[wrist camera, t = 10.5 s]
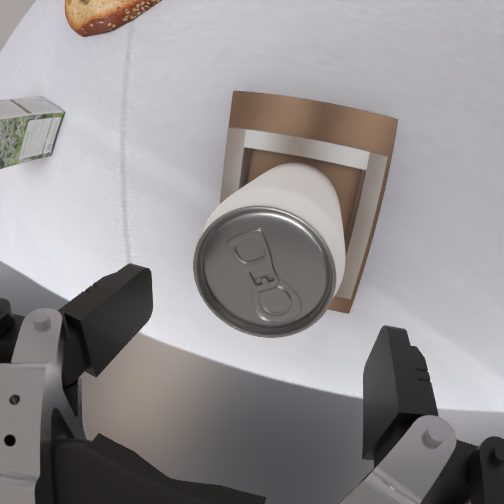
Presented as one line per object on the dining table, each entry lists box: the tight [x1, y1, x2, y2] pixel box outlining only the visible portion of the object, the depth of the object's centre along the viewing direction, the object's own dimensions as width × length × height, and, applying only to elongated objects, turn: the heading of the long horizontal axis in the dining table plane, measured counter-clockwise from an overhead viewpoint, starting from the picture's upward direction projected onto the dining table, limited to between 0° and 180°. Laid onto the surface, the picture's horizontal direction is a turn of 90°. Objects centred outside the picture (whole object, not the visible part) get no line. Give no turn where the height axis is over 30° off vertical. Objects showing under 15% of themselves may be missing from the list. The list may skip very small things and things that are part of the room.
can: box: [193, 163, 345, 338], centre depth 17 cm, size 6×6×12 cm
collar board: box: [220, 91, 398, 314], centre depth 22 cm, size 12×16×4 cm
